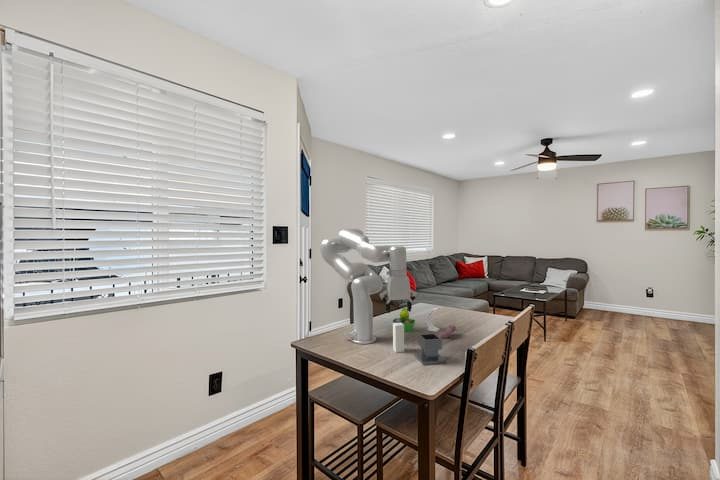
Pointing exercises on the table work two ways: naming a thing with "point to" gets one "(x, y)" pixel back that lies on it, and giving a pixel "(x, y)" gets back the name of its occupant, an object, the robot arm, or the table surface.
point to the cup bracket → (430, 349)
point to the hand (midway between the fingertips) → (398, 311)
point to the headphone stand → (428, 321)
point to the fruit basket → (405, 320)
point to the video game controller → (448, 331)
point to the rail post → (398, 337)
